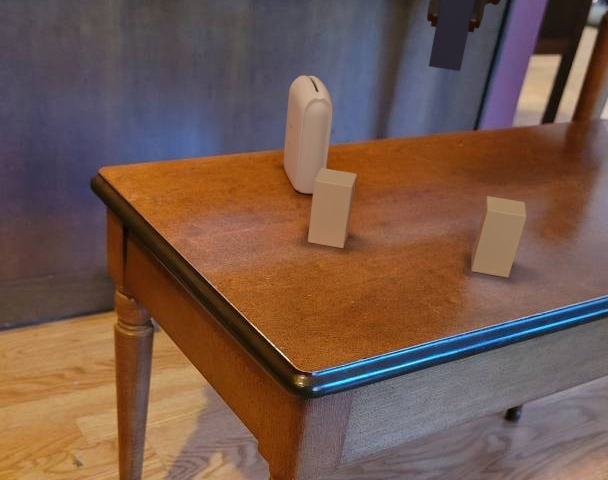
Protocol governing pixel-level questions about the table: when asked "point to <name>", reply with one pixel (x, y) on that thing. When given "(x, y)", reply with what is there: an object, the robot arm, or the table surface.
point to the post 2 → (498, 236)
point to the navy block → (451, 34)
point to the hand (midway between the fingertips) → (453, 24)
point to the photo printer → (307, 132)
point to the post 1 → (331, 207)
